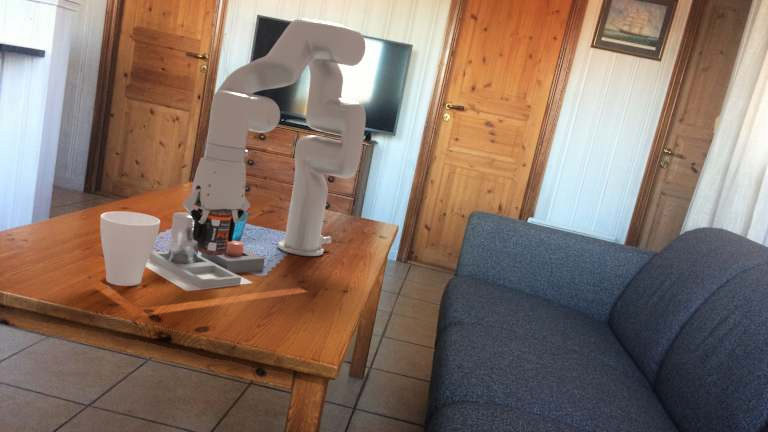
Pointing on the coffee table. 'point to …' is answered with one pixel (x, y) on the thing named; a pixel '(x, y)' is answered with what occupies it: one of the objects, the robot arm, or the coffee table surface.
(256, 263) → the grey square block
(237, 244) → the button
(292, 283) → the coffee table surface
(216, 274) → the tray
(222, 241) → the supplement bottle
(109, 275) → the cup
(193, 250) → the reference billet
